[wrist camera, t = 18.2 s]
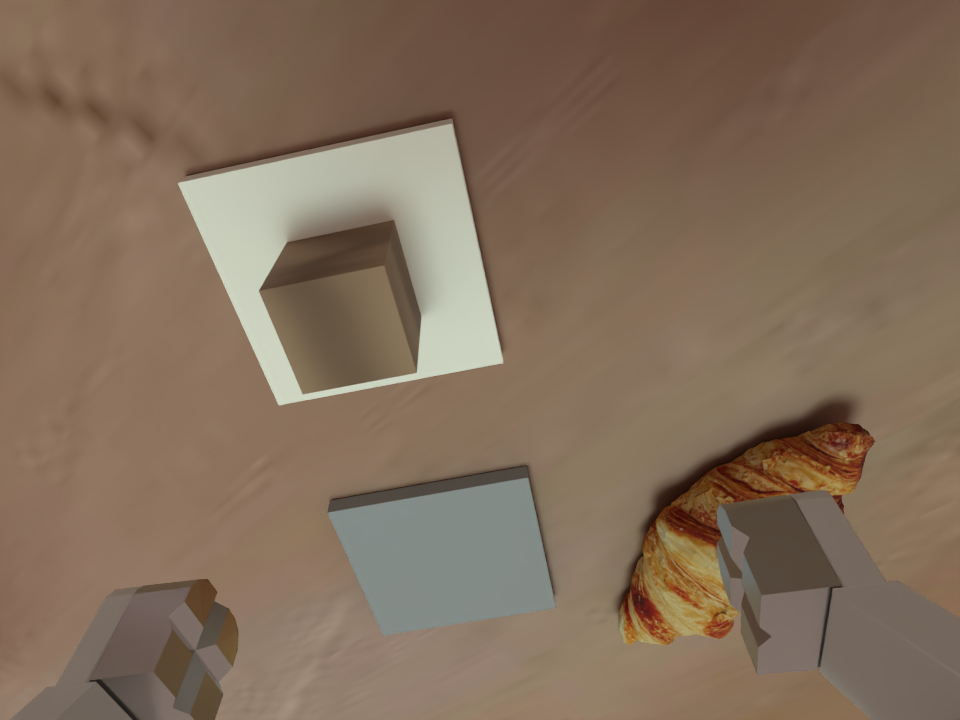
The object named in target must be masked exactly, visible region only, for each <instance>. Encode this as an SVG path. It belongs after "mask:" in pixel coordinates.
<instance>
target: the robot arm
mask: <svg viewBox="0 0 960 720" xmlns="http://www.w3.org/2000/svg"><path fill="white" fill-rule="evenodd" d="M717 524H718V526H719V529H720V531H721V534H722V537H721V539H720V540H719V541H718V542H717V554H718V563H719V568H720V574H721V578H722V582H723V585H724V588H725V591H726V594H727V597H728V600H729V602H730V605H731V606H733V607H734V608H735V609H737V610H738V611H739V612H740V613H741V634H742V637H743V640H744V642H745V645H746V647H747V650H748V652H749V655H750V658H751V660H752V663H753V665H754V668H755V671H756V673H757V675H761V674H773V673H785V672H796V671H808V670H819V669H820V674H822V675H823V676H824V677H825V678H826V679H827V680H828V681H829V682H830V683H831V684H833V685H834V686H835V687H836V688H837V689H838V690H839V691H840V692H841V693H843V694H844V695H845V696H846V697H847V698H848V699H849V700H850V701H851V702H852V703H854V704H855V705H856V706H857V707H858V708H859V709H860V710H861V711H862V712H863V713H865V714H866V715H867V716H868V717H869V718H870V719H871V720H960V618H959V617H957V616H955V615H954V614H952V613H951V612H949V611H947V610H946V609H944V608H942V607H941V606H939V605H937V604H936V603H934V602H932V601H931V600H929V599H928V598H926V597H924V596H923V595H921V594H919V593H918V592H916V591H914V590H913V589H911V588H910V587H908V586H906V585H905V584H903V583H901V582H900V581H888V582H887V581H886V580H885V578H884V577H883V575H882V574H881V572H880V570H879V569H878V567H877V566H876V564H875V563H874V561H873V559H872V558H871V556H870V555H869V553H868V552H867V550H866V549H865V547H864V545H863V544H862V542H861V541H860V539H859V538H858V536H857V534H856V533H855V531H854V530H853V528H852V527H851V525H850V523H849V522H848V520H847V519H846V517H845V516H844V514H843V513H842V511H841V509H840V508H839V506H838V505H837V503H836V502H835V500H834V498H833V497H832V495H831V494H830V493H828V492H827V491H826V490H817V491H810V492H803V493H796V494H789V495H788V496H787V495H780V496H773V497H767V498H760V499H754V500H747V501H741V502H734V503H728V504H721V505H719V507H718V510H717ZM216 594H217V591H216V589H215V588H214V587H213V585H212V584H211V583H210V581H209V580H208V579H200V580H190V581H181V582H173V583H164V584H155V585H146V586H140V587H132V588H124V589H116V590H114V591H113V592H112V593H111V594H109V595H108V596H107V597H106V598H105V599H104V601H103V603H102V605H101V606H100V608H99V610H98V612H97V614H96V615H95V617H94V619H93V621H92V622H91V624H90V626H89V628H88V629H87V631H86V633H85V635H84V637H83V638H82V640H81V642H80V644H79V645H78V647H77V649H76V651H75V653H74V654H73V656H72V658H71V660H70V661H69V663H68V665H67V667H66V668H65V670H64V672H63V674H62V676H61V677H60V679H59V681H58V683H57V684H56V686H53V687H47V688H45V689H44V690H43V691H42V692H41V693H40V694H39V695H37V696H36V697H35V698H34V699H33V700H32V701H31V702H29V703H28V704H27V705H26V706H25V707H24V708H23V709H22V710H20V711H19V712H18V713H17V714H16V715H15V716H14V717H12V718H11V719H10V720H215V717H216V714H217V711H218V708H219V706H220V703H221V700H222V697H223V692H222V690H221V687H220V684H219V681H220V680H221V679H222V678H223V677H224V676H225V675H226V673H227V672H228V671H229V670H230V669H231V668H232V667H233V663H234V660H235V657H236V654H237V650H238V628H237V624H236V620H235V618H234V616H233V614H232V613H231V611H230V610H229V608H227V607H225V606H223V605H221V604H219V603H217V602H215V601H214V600H215V597H216Z"/></svg>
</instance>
